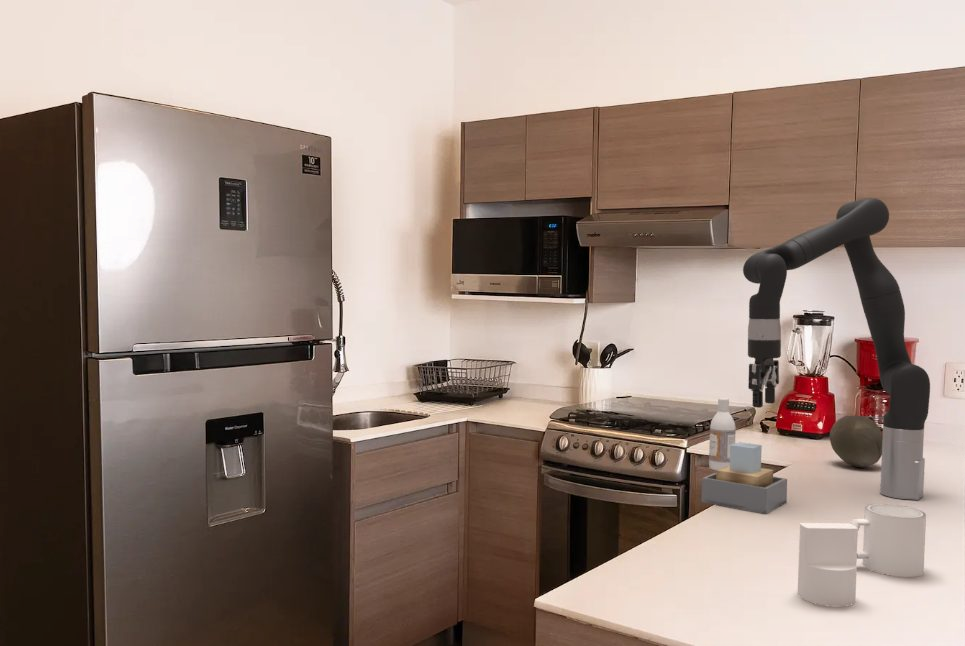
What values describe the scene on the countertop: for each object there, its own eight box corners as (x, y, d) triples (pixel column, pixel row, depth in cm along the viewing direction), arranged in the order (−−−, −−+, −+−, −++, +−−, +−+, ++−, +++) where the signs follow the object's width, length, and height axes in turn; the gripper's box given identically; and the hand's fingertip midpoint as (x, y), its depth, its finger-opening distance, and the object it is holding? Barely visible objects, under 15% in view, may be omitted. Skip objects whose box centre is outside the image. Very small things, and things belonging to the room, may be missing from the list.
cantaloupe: (872, 462, 252) (874, 412, 251) (890, 473, 238) (892, 420, 237) (823, 461, 253) (825, 411, 253) (838, 471, 239) (840, 418, 239)
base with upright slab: (840, 587, 146) (842, 518, 146) (865, 607, 137) (868, 534, 137) (788, 586, 146) (791, 518, 145) (810, 606, 137) (813, 533, 136)
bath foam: (704, 467, 242) (706, 397, 241) (725, 465, 244) (727, 396, 243) (717, 472, 235) (719, 400, 234) (739, 471, 237) (741, 399, 236)
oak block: (772, 498, 203) (773, 469, 203) (756, 506, 196) (758, 476, 195) (732, 491, 210) (733, 463, 209) (715, 499, 202) (716, 470, 202)
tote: (786, 502, 203) (787, 478, 203) (766, 514, 193) (766, 488, 192) (724, 491, 213) (724, 468, 213) (701, 502, 202) (702, 478, 202)
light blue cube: (760, 469, 203) (761, 445, 203) (752, 473, 199) (753, 448, 198) (738, 466, 206) (739, 442, 206) (729, 470, 202) (730, 445, 202)
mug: (864, 578, 151) (866, 519, 151) (835, 559, 161) (837, 504, 161) (935, 576, 153) (938, 518, 152) (902, 558, 163) (904, 503, 162)
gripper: (769, 339, 195) (769, 410, 195) (789, 336, 206) (789, 402, 207) (737, 338, 199) (737, 407, 200) (759, 335, 211) (758, 400, 211)
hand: (763, 405), depth 203 cm, fingers open, 8 cm apart
